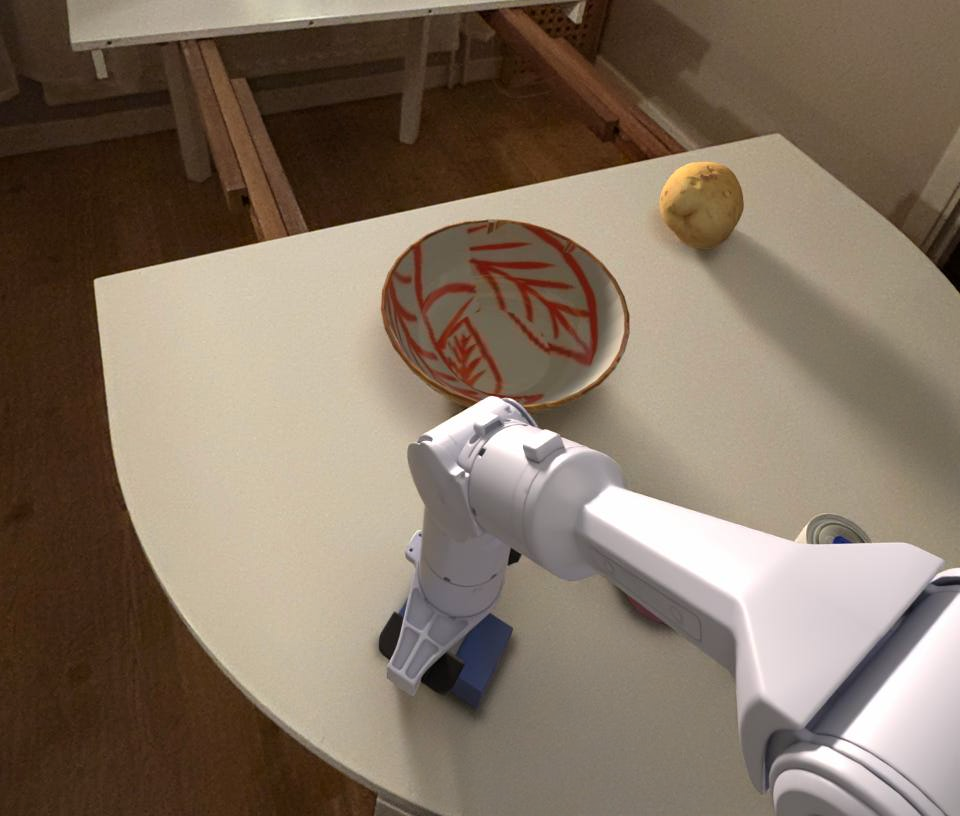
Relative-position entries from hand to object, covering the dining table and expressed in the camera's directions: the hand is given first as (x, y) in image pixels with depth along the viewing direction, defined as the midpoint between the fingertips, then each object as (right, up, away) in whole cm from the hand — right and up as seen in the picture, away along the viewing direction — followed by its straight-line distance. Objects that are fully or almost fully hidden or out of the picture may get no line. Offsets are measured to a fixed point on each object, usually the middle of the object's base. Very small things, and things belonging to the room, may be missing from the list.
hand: (451, 626), depth 57 cm
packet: (0, -3, +2) cm, 4 cm away
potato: (+30, +26, +44) cm, 59 cm away
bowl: (+4, +15, +25) cm, 29 cm away
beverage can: (+26, -4, +5) cm, 27 cm away
